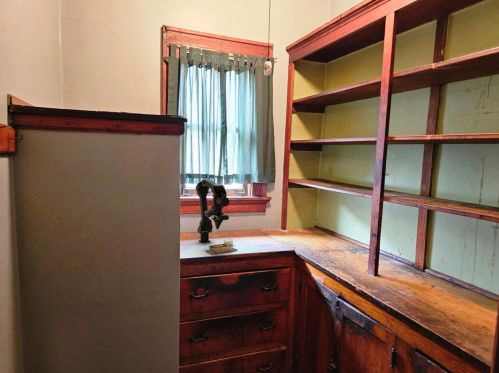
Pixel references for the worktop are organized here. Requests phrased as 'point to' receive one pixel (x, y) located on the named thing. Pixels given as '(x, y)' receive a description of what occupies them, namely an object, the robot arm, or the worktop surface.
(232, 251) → the mat
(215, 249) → the ammunition clip
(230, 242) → the white small block
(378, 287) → the worktop surface
